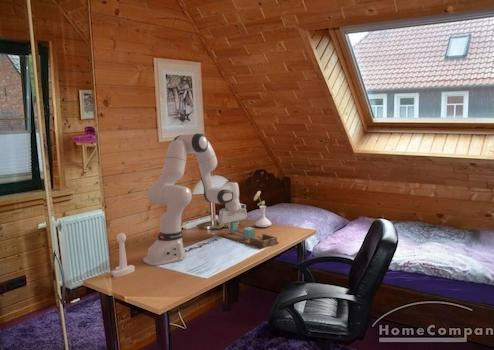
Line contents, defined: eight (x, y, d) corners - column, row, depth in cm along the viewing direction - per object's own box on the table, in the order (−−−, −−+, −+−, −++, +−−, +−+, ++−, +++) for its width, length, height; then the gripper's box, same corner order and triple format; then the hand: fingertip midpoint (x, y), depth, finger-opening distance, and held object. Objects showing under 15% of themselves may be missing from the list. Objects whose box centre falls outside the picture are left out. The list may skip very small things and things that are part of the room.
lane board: (261, 249, 233) (260, 242, 233) (221, 236, 260) (221, 230, 260) (278, 243, 242) (278, 237, 242) (238, 232, 269) (238, 226, 269)
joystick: (116, 277, 196) (113, 236, 194) (107, 274, 201) (104, 234, 199) (136, 271, 204) (133, 231, 202) (127, 267, 209) (125, 229, 207)
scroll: (221, 229, 273) (244, 223, 286) (218, 218, 274) (241, 213, 287) (215, 231, 278) (238, 226, 291) (212, 221, 280) (235, 216, 293)
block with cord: (248, 240, 248) (248, 230, 246) (228, 231, 262) (228, 222, 261) (254, 238, 251) (254, 228, 250) (234, 230, 265) (234, 221, 264)
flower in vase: (263, 223, 290) (262, 187, 287) (275, 226, 282) (274, 189, 278) (249, 227, 281) (248, 190, 278) (261, 230, 273) (260, 192, 270)
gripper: (222, 210, 251) (223, 232, 253) (247, 204, 264) (248, 226, 266) (216, 208, 256) (216, 230, 257) (241, 203, 269) (242, 224, 271)
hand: (233, 228), depth 262 cm, fingers closed on block with cord, 3 cm apart
